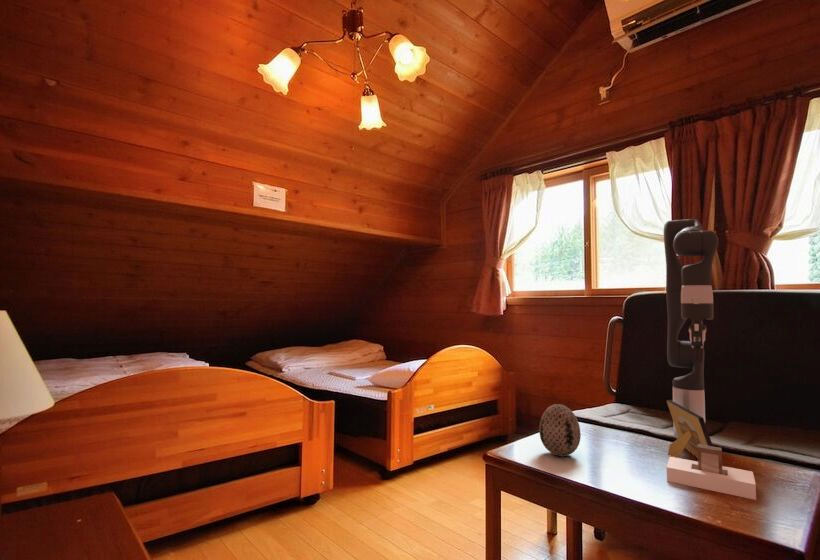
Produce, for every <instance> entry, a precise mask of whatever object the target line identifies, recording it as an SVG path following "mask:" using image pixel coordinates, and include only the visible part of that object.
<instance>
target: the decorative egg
mask: <svg viewBox="0 0 820 560" xmlns="http://www.w3.org/2000/svg"><path fill="white" fill-rule="evenodd" d="M540 417H541V418H540V421H539V428H538V429H539V431H538V432H539V438H540V441H541V443H542V446H544V447H545V449H546V450H547V451H548V452H549V453H551V454H553V455H554V456H559V457H566V456H569V455H571V454H573V453H574V452H575V451H576V450H577V449H578V447H579V446H580V443H581V442H580V441H581V438H582V437H581V435H582V433H581V427H580V423H579V421H578V418H577V416H576V414H575V413H574V411H572V410H571V408H569V407H567V406H566V405H564V404H562V403H561V404H560V403H555V404H552V405H549V406H548V407H547V408H546V409H545V411H544V412H543V414H542V415H541V416H540Z"/></svg>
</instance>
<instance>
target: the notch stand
mask: <svg viewBox="0 0 820 560" xmlns="http://www.w3.org/2000/svg"><path fill="white" fill-rule="evenodd" d="M666 482H670V483H674V484H679V485H684V486H687V487H688V486H689V487H692V488H697V489H702V490H707V491H711V492H712V491H713V492H717V493H722V494H726V495H731V496H736V497H741V498H746V499H750V500H754V501H756V500H757V485H756V480H755V475H754V472H753V471H751V470H745V469H740V468H736V467H735V468H734V467H730V466H723V465H722V474H717V473H712V472H707V471H701V470H698V460H697V461H696V460H690V459H684V458H680V457H678V458H675V457H671V456H669V459H668V461H667V464H666Z"/></svg>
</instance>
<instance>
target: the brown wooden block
mask: <svg viewBox="0 0 820 560" xmlns="http://www.w3.org/2000/svg"><path fill="white" fill-rule="evenodd" d="M697 462H698V470H701V471H707V472H712V473H717V474H722V466H723V449H722V447H717V446H714V445H713V446H707V445H701V444H698V459H697Z"/></svg>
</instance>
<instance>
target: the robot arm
mask: <svg viewBox="0 0 820 560" xmlns="http://www.w3.org/2000/svg"><path fill="white" fill-rule="evenodd" d="M719 240H720V239H719V237H718V235H717V233H716V232H715V231H713V230H703V226H702V224H701V222H700V221H699V219H698V220H697V219H695V218H688V219H675V220H667V221H665V223H664V225H663V242H664V243H663V244H664V253H665V269H666V270H665V271H666V274H665V276H666V277H665V279H666V280H665V284H666V285H665V290H666V293H665V294H666V295H665V296H666V297H665V298H666V309H667V336H666V338H667V339H666V342H667V344H666V358H667V363H668V365H669V366H670V367H672V368H673V367H674V368H681V369H683V368H685V369H692V371H691V372H690V373H688V374H686V375H682V376H678V377H677V376H676V377H674V378H673V379H672V401H673V402H675V403H677V404H679V405H680V406H682V407H684V408H686V409H688V410H690V411H692V412H693V413H695V414H697V415H699V416H701V417H703V419H704V422H705V423H706V400H705V399H706V398H705V377H704V376H705V375H704V374H705V373H704V372H705V371H704V370H705V348H704V346H705V341H706V333H707V326H706V325H705V324H704V322H703V321H704V320H705V321H706V320H714V318H715V315H714V293H713V286H712V271H713V269H712V268H713V263H714V259H715V255H716V253H717V250H718V246H719ZM679 257H702V259H701V260H700V261H699V262H696V263H692V264H685V265H684V264H683V263H682V261H681V260H680V258H679ZM687 320H691V323H690V325H688V333H689V340H690V341H689V340H679V339H678V338H679V335H680V331H681V329H682V328H683V327H684V324H685V323H686V322H687ZM672 425H673V428H672V429H673V437H674V439H676V440H677V439H678V438H679V437H678V434H677V431H676V428H675V425H674V422H672Z"/></svg>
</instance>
